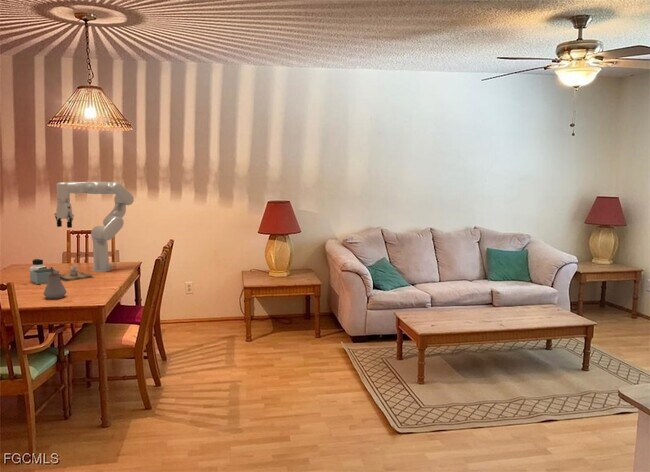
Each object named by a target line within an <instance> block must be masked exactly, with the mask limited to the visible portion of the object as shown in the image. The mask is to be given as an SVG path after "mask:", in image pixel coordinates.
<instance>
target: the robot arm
mask: <svg viewBox="0 0 650 472" xmlns="http://www.w3.org/2000/svg"><path fill="white" fill-rule="evenodd" d="M70 194H89V195H114V198H113V200H114V207H113V209H112V210H111V211H110V212H109V213H108V214H107V215H106V216H105V217H104V219H103V221H102V224H103V225H96V226H94V227H93V228H92V229H91V231H90V236H91V240H92V247H93V248H92V251H93V256H92V257H93V268H92V269H91V272H93V273H94V272H95V273H103V272H111V271H112V267H113V268H115V267H116V264H115V263H109V245H108V241H110V240H112V239H113V238H114V237H115V236H116V235H117V234H118V233H119V232H120V230H121V229H122V228H123V226H124V219H123V218H124V216H125V215H126V213H127V206H130V205H132V204H133V203H134V201H135V199H134V196H133V194H132V193H131V192H130V191H129V190H128V189H127V188H126V187H125V186H124V185H122V183H120V182H117V181H115V182H114V181H68V182H63V181H62V182H61V181H60V182H57V183H56V202H57V203H56V212H54V214H53V216H54V218H55V221H56V227H57V228H61V227H62V226H63V225H62V224H63V222H62V219H66V227H67V229H70V228H73V220H74V217H75V215H74V214H73V208H72V203H71V197H70V196H71V195H70Z"/></svg>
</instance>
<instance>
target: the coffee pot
mask: <svg viewBox="0 0 650 472" xmlns="http://www.w3.org/2000/svg"><path fill="white" fill-rule="evenodd" d="M50 268H51V273H52V274H50V275H48V277H49V281H48V283H46V287H45V288H44V291H43V295H44V297H46V298H47V299H49V300H58V299H62V298H63V297H64V296H65V295H66V294H67V290H66V288H65V286H64V284H63V283H62V282H63V281H62V280H60V276H61V275H62V274H61V273H59V274H54V273H53V269H55V268H54V267H52V266H50V267H49V268H48V269H50Z"/></svg>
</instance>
